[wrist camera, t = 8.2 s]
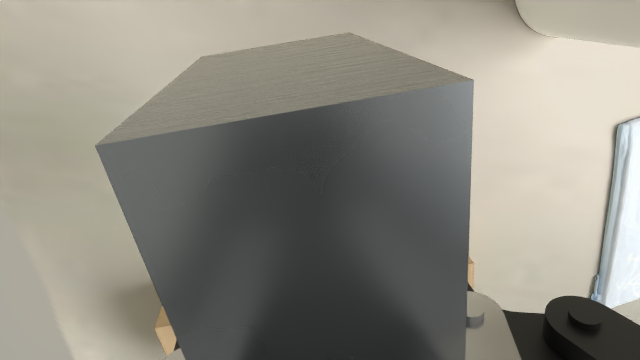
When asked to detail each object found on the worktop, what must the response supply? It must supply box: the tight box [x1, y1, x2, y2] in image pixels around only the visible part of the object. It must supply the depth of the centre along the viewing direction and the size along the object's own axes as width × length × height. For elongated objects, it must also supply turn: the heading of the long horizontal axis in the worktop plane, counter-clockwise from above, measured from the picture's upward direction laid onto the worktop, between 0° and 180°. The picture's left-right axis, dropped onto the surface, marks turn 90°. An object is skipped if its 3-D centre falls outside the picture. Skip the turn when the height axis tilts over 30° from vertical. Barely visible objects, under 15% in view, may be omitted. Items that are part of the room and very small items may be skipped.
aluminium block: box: [95, 33, 474, 360], centre depth 10 cm, size 4×12×7 cm, turn 8°
